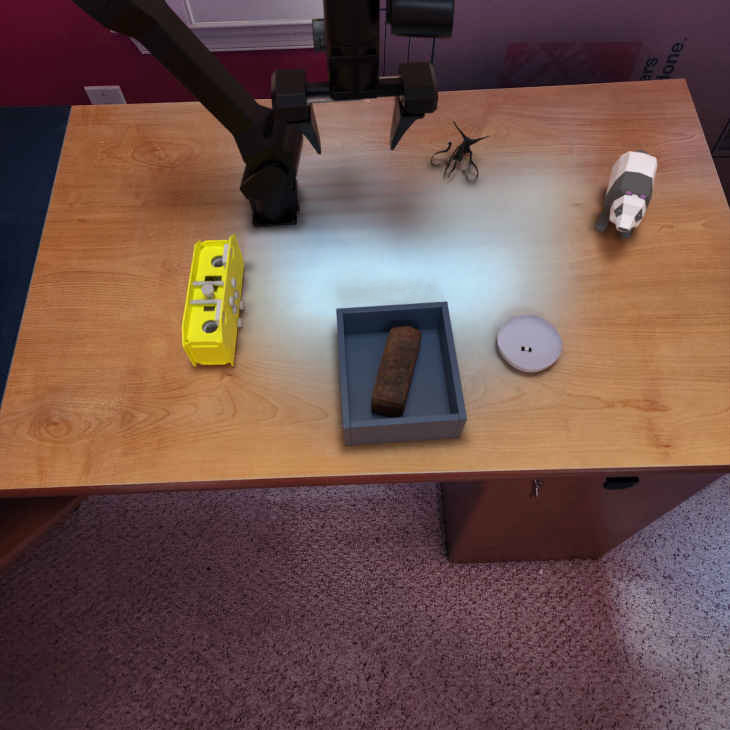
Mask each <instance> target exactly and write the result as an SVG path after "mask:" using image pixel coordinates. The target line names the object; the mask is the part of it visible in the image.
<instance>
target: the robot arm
mask: <svg viewBox="0 0 730 730" xmlns="http://www.w3.org/2000/svg"><path fill="white" fill-rule="evenodd" d="M71 2H72V3H73V4H74V5H76V7H78V8H79V9H80V10H82V11H83V12H85V13H86V15H88V16H89V17H91V18H92V19H93V20H95V21H96V22H97V23H98V24H100V26H103V28H105V29H107V30H109V31H112V32H115V33H117V34H120V35H122V36H126V37H128V38H131V39H134V40H136V41H137V42H138V43H139V44H140V45H141V46H143V48H144V49H146V51H148V52H149V54H150V55H151V56H152V57H154V58H155V59H156V61H158V62H159V63H160V65H162V66H163V68H164V69H166V71H168V73H170V74H171V75H172V76H173V77H174V78H175V80H177V81H178V83H180V84H181V86H183V88H184V89H186V90H187V92H189V93H190V95H192V96H193V97H194V98H195V99H196V100H197V101H198V102H199V103H200V104H201V105H202V106H203V108H205V109H206V110H207V111H208V113H210V114H211V116H213V117H214V118H215V119H216V120H217V121H218V122H219V123H220V124H221V125H222V126H223V127H224V128H225V129H226V130H227V131H228V132H229V133H230V135H232V137H233V139H234V141H235V145H236V147H237V149H238V152H239V154H240V157H241V160H242V161H243V163H244V164H245V165H244V168H243V169H244V170H243V173H242V178H241V180H240V184H239V189H238V190H239V191H240V193H241V194H242V195H243V197H244V198H245V199H246V200H248V202H249V206H250V209H251V224H252V225H251V226H252V227H254V228H265V227H266V228H267V227H281V226H296V225H297V224H298V213H299V212H300V211H301V197H300V190H299V185H298V178H297V175H298V170H299V166H300V161H301V156H302V151H303V146H304V138H305V139H307V141H308V142H309V143H310V145H311V146H312V148H313V149H314V150H315V152H316V153H317V155H322V142H321V135H320V132H319V127H318V122H317V119H316V115H315V114H316V113H315V110H314V106H313V105H314V104H323V103H324V104H325V103H343V102H345V103H346V102H361V101H364V100H375V99H378V98H390V97H391V98H392V97H394V106H393V112H392V119H391V125H390V130H389V131H390V132H389V150H390V151H394V150H395V148H396V147H397V146H398V144H399V143H400V141H401V140H402V138H403V137H404V135H405V134H406V133H407V131H408V130H409V129H410V128H411V127H412V125H413V124H414V123H415V122H416V121H417V120H422V119H424V118H425V116H426V114H434V113H435V112H436V111H437V110H438V103H439V86H438V82H437V77H436V73H435V67H434V66H433V64H432V63H431V62H430V61H416V62H415V61H414V62H401V63H399V65H398V75H393V76H390V75H389V76H380V51H381V49H380V46H381V45H380V44H381V41H380V40H381V38H380V37H381V36H380V35H381V0H322V10H323V11H322V12H323V17H321V18H311V28H312V30H311V31H312V41H313V42H312V43H313V50H314V51H313V52H314V53H325V55H326V56H325V58H326V72H327V80H328V81H311V82H307V74H306V73H307V72H306V69H305V68H290V69H288V68H287V69H275V70H274V72H273V73H272V74H271V77H270V79H271V80H270V82H271V83H270V93H271V95H270V100H271V107H268V106H265V105H262V104H260V103H259V102H257V101H256V100H255V98H253V96H252V95H251V94H250V93H249V92H248V91H247V90H246V89H245V88H244V86H242V84H241V83H240V82H239V81H238V80H237V78H235V77H234V76H233V74H232V73H231V72H230V71H229V70H228V69H227V68H226V67H225V66H224V64H222V62H221V61H220V60H219V59H218V58H217V57H216V56H215V55H214V54H213V53H212V51H210V49H209V48H208V47H207V46H206V45H205V44H204V43H203V42H202V41H201V39H199V37H198V36H197V35H196V34H195V33H194V32H193V31H192V30H191V28H190V27H189V26H188V25H187V24H186V23H185V21H184V20H182V19H181V17H180V16H179V15H178V14H177V13H176V12H175V11H174V10H173V9H172V8H171V7H170V5H169V4H168V3H167V0H71ZM455 7H456V0H385V25H386V26H390V35H393V36H395V37H397V38H415V39H436V40H451V39H452V36H453V28H454V22H455V21H454V20H455Z"/></svg>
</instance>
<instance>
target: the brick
mask: <svg viewBox="0 0 730 730" xmlns="http://www.w3.org/2000/svg"><path fill="white" fill-rule="evenodd" d="M421 339H422V332H421V331H419V330H418V329H414V328H413V327H411V326H402V327H393V328H392V329H391V330H390V332H389V335H388V338H387V342H386V345H385V348H384V352H383V356H382V359H381V363H380V366H379V370H378V374H377V378H376V381H375V385H374V389H373V392H372V398H371V412H373V413H377V414H381V415H386V416H390V417H394V418H399V416H401V415H403V413H404V410H405V407H406V406H405V404H406V401H407V397H408V393H409V389H410V385H411V381H412V377H413V373H414V368H415V365H416V361H417V356H418V352H419V348H420V343H421Z"/></svg>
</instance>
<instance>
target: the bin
mask: <svg viewBox="0 0 730 730" xmlns="http://www.w3.org/2000/svg"><path fill="white" fill-rule="evenodd" d="M449 309H450V308H449V303H448V301H433V302H431V301H430V302H417V303H416V302H415V303H402V304H401V303H399V304H384V305H383V304H382V305H369V306H356V307H355V306H354V307H339V308H338V307H337V308H336V309H335V315H336V330H337V331H336V332H337V333H336V334H337V346H338V347H337V350H338V367H339V382H340V385H339V386H340V400H341V401H340V402H341V419H342V433H343V441H344V446H346V447H347V446H360V445H375V444H386V443H387V444H388V443H401V442H402V443H403V442H417V441H429V440H445V439H459V438H461V436H462V433H463V431H464V428H465V425H466V423H467V421H468V417H467V411H466V405H465V399H464V392H463V386H462V381H461V374H460V369H459V363H458V357H457V351H456V346H455V345H456V344H455V339H454V333H453V326H452V321H451V314H450V310H449ZM402 326H411V327H413V328H414V329H418V330H419V331H421V332H422V339H421V343H420V348H419V352H418V356H417V361H416V365H415V368H414V373H413V377H412V381H411V385H410V389H409V393H408V397H407V401H406V404H405V406H406V407H405V410H404V413H403V415H401V416H399V418H394V417H390V416H386V415H381V414H377V413H373V412H371V398H372V392H373V389H374V385H375V381H376V378H377V374H378V370H379V366H380V363H381V359H382V356H383V352H384V348H385V345H386V342H387V338H388V335H389V332H390V330H391V329H392V328H393V327H402Z"/></svg>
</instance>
